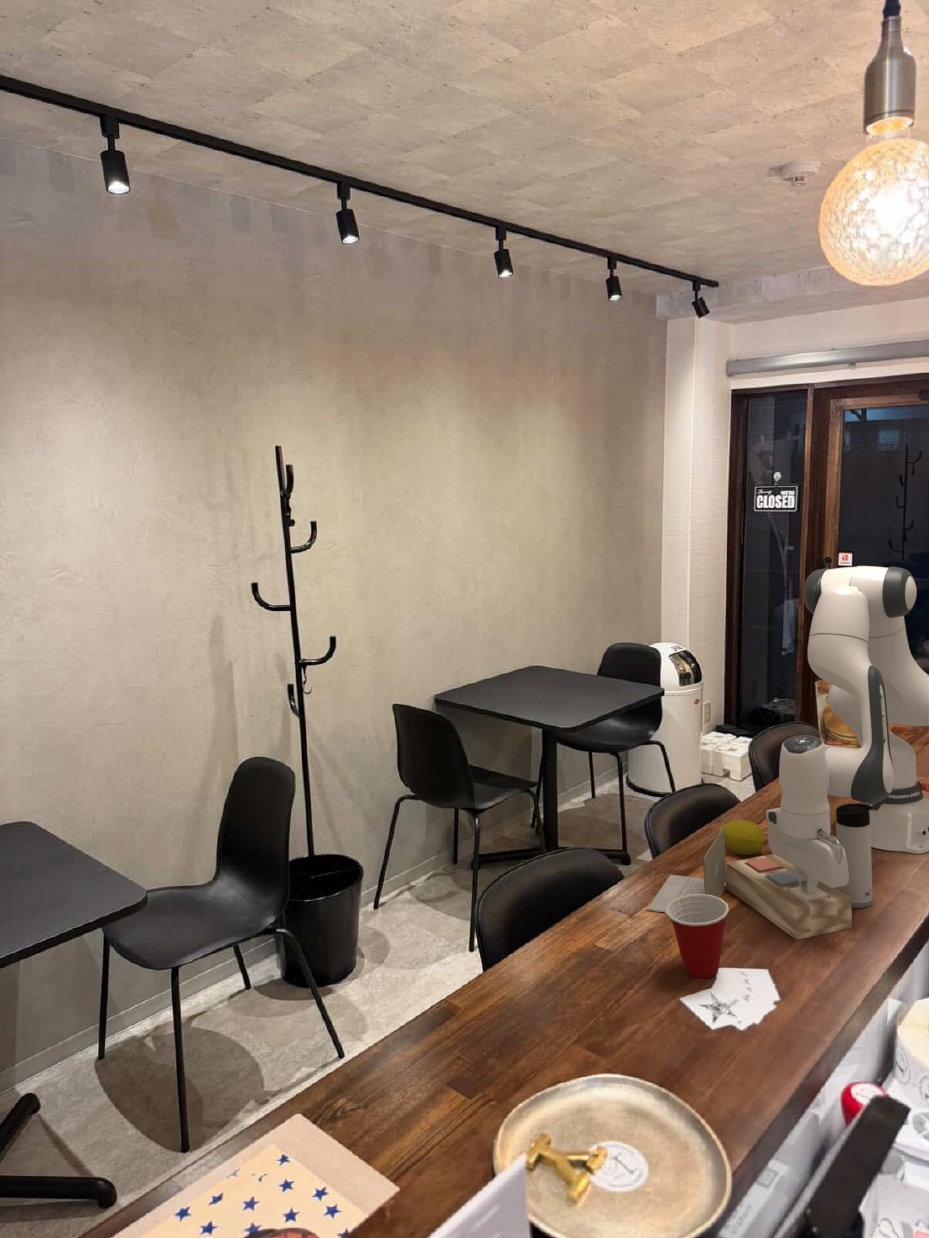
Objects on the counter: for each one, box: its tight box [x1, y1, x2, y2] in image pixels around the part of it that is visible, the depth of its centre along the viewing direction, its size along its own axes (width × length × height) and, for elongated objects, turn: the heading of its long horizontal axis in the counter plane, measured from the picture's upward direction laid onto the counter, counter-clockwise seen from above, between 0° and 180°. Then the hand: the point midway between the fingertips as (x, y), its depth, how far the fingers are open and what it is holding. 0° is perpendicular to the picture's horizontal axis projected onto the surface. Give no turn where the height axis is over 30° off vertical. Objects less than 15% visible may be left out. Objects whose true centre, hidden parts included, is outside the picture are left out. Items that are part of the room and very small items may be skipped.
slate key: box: [767, 870, 799, 887], centre depth 177 cm, size 5×5×3 cm
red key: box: [746, 858, 782, 873], centre depth 184 cm, size 5×5×3 cm
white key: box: [789, 887, 828, 903], centre depth 169 cm, size 5×5×3 cm
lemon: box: [717, 819, 767, 856], centre depth 206 cm, size 11×8×8 cm
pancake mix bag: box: [814, 679, 861, 749], centre depth 251 cm, size 7×19×28 cm, turn 44°
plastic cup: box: [665, 894, 730, 979], centre depth 156 cm, size 11×11×12 cm
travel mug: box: [835, 802, 874, 909], centre depth 176 cm, size 6×7×20 cm
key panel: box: [726, 853, 853, 941], centre depth 177 cm, size 12×24×6 cm, turn 14°
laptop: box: [646, 827, 728, 914], centre depth 185 cm, size 18×12×13 cm
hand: (808, 891), depth 169 cm, fingers closed, pressing on white key
